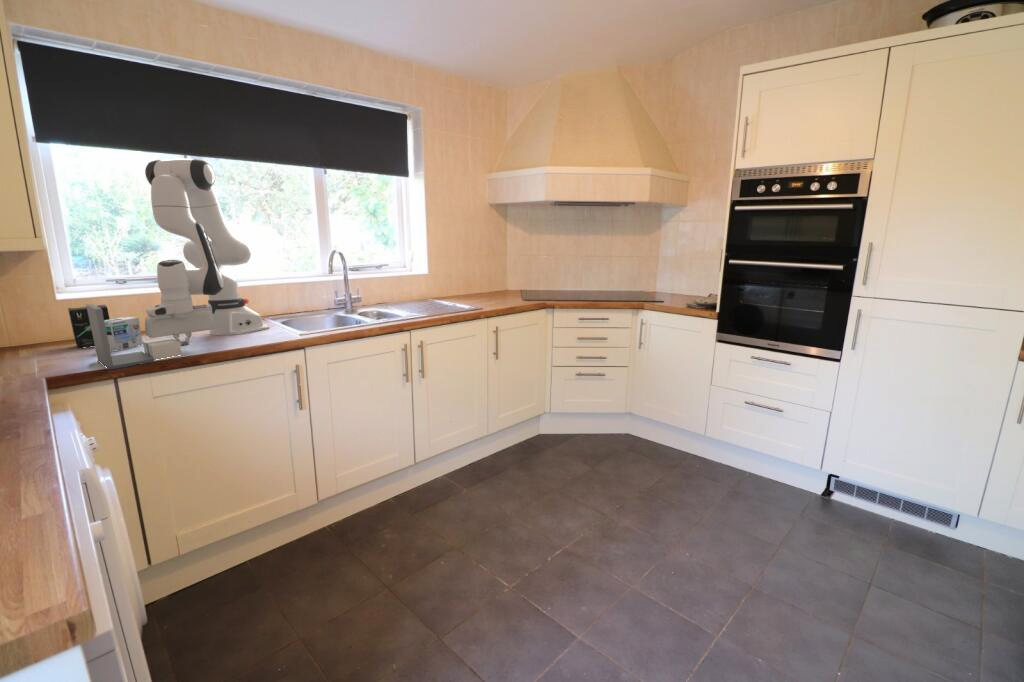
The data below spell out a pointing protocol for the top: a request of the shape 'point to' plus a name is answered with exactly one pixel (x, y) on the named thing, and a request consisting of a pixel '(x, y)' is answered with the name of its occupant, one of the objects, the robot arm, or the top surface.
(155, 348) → the cream carton
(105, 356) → the display platform
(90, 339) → the tampon box
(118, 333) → the light bulb box
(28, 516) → the top surface
